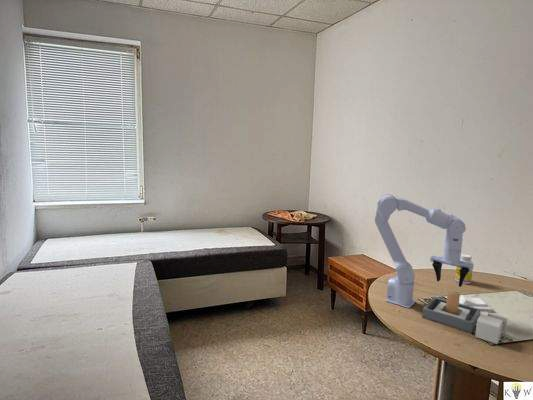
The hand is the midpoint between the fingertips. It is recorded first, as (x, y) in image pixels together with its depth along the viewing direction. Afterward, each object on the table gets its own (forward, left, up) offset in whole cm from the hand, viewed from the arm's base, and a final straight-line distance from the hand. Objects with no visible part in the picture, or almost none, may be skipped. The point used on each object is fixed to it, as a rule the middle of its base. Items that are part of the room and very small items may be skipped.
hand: (449, 283), depth 133 cm
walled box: (+3, -7, -10) cm, 13 cm away
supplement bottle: (-2, +37, -10) cm, 38 cm away
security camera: (+16, -7, -7) cm, 19 cm away
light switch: (+6, +11, -11) cm, 17 cm away
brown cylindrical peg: (+3, -7, -10) cm, 13 cm away
